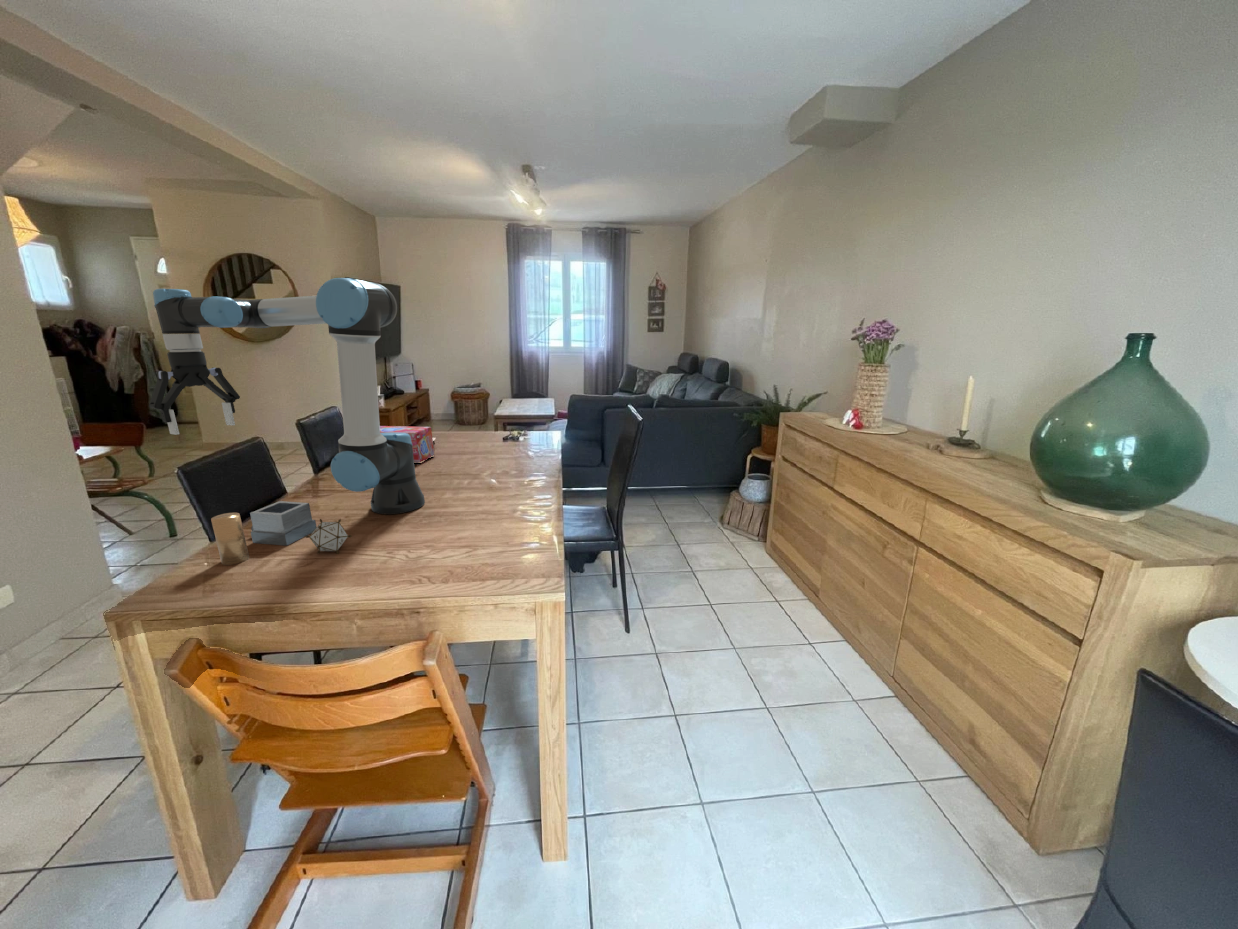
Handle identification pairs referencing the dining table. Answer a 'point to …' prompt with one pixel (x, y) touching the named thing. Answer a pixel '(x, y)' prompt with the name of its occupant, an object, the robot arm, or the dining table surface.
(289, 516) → the open rectangular container
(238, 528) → the gold metallic cylinder
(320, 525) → the game die
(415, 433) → the box
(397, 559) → the dining table surface
